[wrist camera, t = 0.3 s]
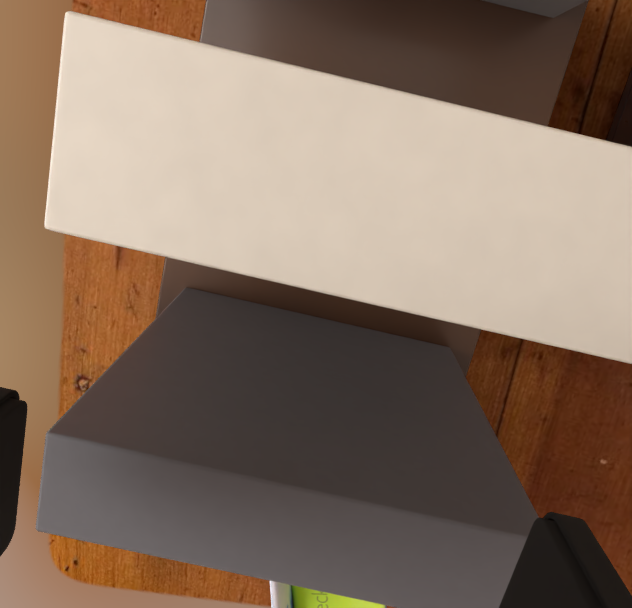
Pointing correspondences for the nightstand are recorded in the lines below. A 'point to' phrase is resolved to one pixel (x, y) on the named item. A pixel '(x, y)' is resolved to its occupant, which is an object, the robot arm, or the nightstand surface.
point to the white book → (341, 187)
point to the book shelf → (400, 74)
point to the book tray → (623, 118)
